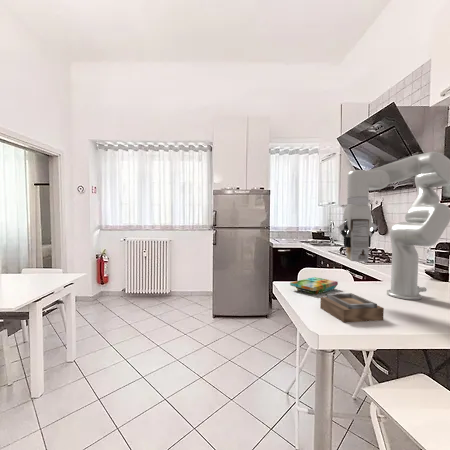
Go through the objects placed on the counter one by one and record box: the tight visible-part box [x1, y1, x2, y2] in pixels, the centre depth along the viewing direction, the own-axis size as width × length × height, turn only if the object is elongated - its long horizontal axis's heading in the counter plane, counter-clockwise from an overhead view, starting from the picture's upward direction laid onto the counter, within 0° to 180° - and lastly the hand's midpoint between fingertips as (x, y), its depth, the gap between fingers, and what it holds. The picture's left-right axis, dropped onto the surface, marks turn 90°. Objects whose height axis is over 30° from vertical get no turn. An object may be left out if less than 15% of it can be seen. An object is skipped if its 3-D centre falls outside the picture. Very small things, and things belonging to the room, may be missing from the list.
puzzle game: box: [289, 276, 339, 295], centre depth 126 cm, size 12×5×20 cm
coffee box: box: [345, 219, 370, 263], centre depth 109 cm, size 9×6×16 cm
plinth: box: [319, 292, 385, 323], centre depth 94 cm, size 14×14×5 cm
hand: (357, 246), depth 109 cm, fingers closed on coffee box, 8 cm apart
